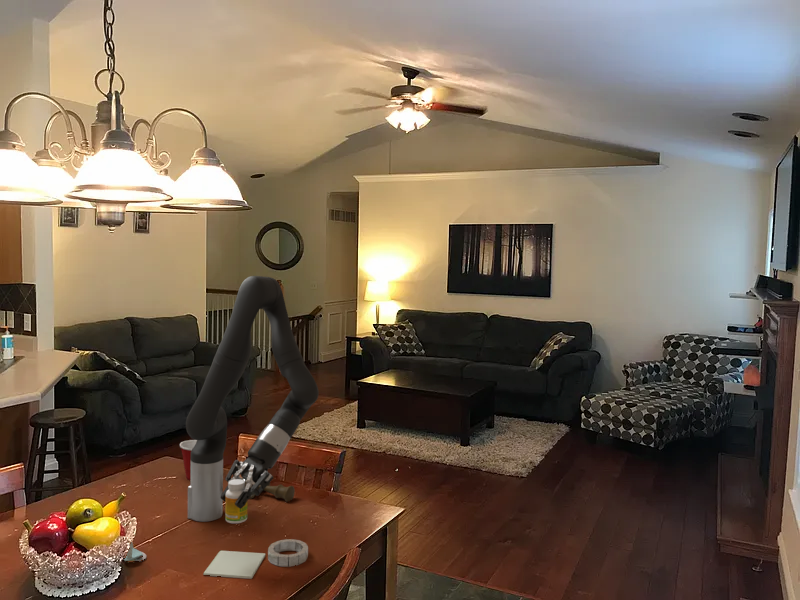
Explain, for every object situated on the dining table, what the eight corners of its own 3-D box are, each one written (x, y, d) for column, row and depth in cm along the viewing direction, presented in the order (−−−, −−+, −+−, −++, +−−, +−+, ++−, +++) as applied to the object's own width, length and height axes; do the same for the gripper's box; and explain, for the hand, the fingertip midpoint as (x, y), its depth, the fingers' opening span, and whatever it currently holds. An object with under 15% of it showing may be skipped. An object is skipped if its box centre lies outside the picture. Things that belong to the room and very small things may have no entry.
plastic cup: (210, 482, 221) (211, 447, 220) (177, 483, 219) (177, 448, 218) (213, 471, 231) (213, 438, 230) (181, 472, 229) (181, 439, 228)
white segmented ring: (263, 565, 166) (263, 555, 165) (274, 547, 175) (274, 538, 175) (302, 567, 165) (302, 558, 165) (310, 549, 175) (311, 540, 175)
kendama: (282, 508, 203) (229, 495, 210) (298, 498, 212) (247, 486, 219) (283, 489, 202) (230, 477, 210) (300, 480, 211) (248, 469, 219)
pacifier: (136, 551, 171) (114, 558, 167) (137, 527, 171) (115, 534, 166) (151, 560, 167) (128, 568, 162) (152, 536, 166) (129, 543, 162)
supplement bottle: (241, 525, 161) (242, 486, 160) (221, 522, 162) (221, 484, 161) (251, 516, 166) (251, 479, 165) (231, 514, 167) (231, 477, 166)
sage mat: (203, 575, 159) (203, 573, 159) (220, 552, 171) (220, 550, 171) (251, 578, 159) (251, 576, 159) (265, 555, 171) (265, 553, 171)
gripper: (244, 432, 173) (204, 488, 165) (279, 444, 164) (239, 504, 156) (260, 447, 177) (222, 502, 169) (295, 459, 168) (257, 519, 160)
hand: (230, 503), depth 162 cm, fingers closed on supplement bottle, 5 cm apart
